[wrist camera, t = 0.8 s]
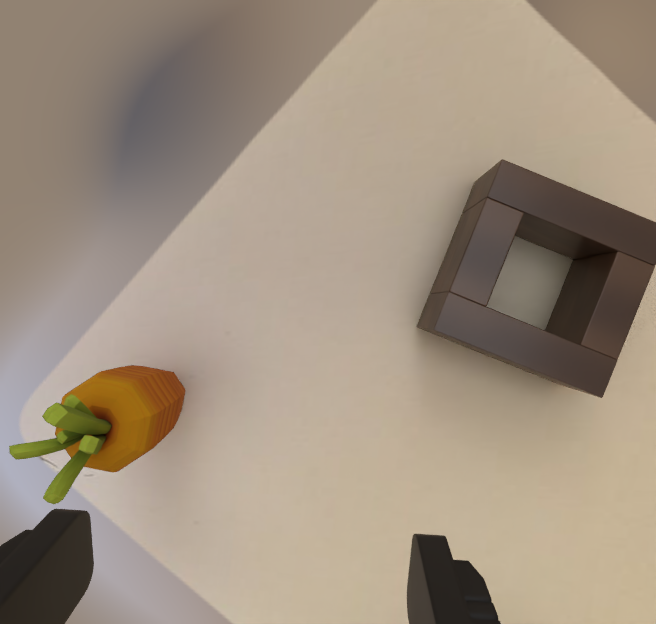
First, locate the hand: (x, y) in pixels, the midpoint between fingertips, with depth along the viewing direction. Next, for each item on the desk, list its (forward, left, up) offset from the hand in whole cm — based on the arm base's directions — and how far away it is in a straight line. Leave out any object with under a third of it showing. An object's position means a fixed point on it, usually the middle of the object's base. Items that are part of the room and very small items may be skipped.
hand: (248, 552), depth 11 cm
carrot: (+3, -8, -22) cm, 23 cm away
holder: (-13, +12, -22) cm, 28 cm away
